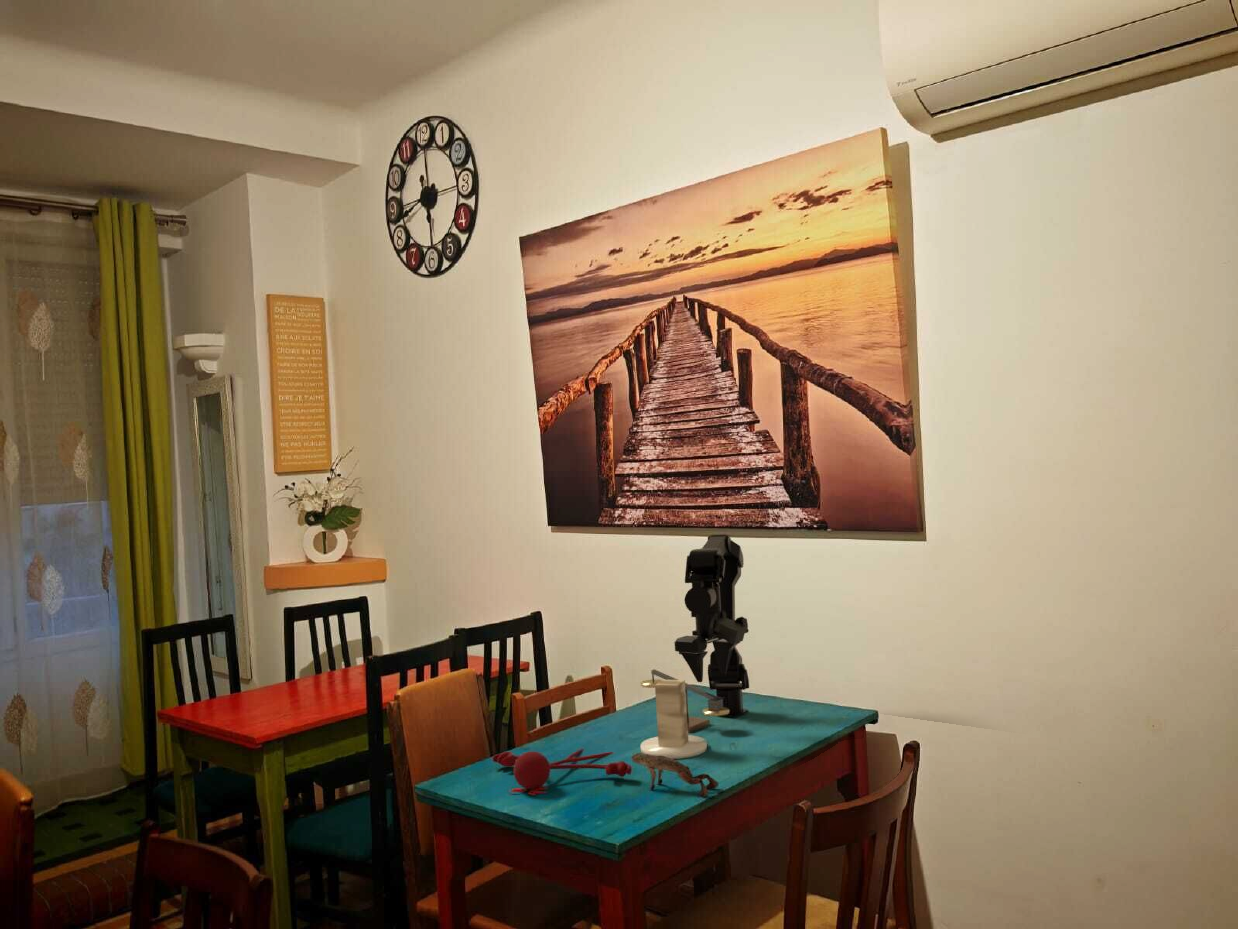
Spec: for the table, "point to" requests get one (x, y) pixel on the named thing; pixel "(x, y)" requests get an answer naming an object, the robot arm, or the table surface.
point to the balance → (693, 722)
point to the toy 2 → (674, 766)
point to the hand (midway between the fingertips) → (712, 677)
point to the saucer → (675, 748)
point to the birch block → (671, 713)
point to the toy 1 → (536, 768)
